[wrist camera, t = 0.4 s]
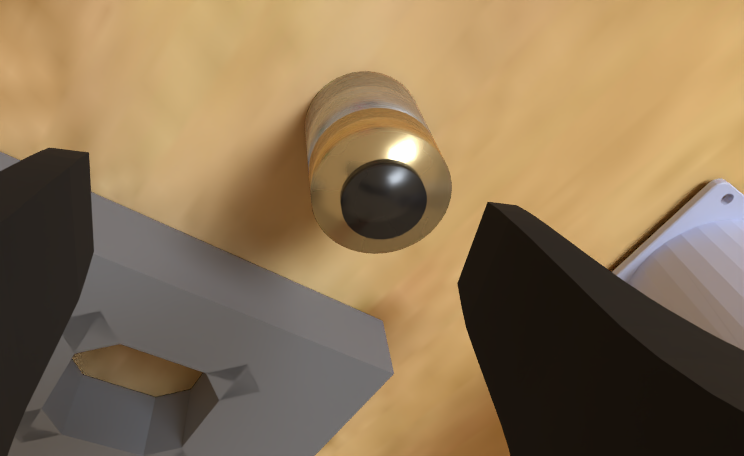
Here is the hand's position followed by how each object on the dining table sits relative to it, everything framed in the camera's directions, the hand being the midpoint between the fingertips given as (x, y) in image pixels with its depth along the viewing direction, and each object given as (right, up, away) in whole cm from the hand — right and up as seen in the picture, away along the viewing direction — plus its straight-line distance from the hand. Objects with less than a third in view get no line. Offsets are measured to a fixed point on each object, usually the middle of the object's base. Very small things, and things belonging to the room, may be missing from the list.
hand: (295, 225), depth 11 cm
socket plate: (-8, -5, +14) cm, 17 cm away
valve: (+1, +3, +9) cm, 10 cm away
